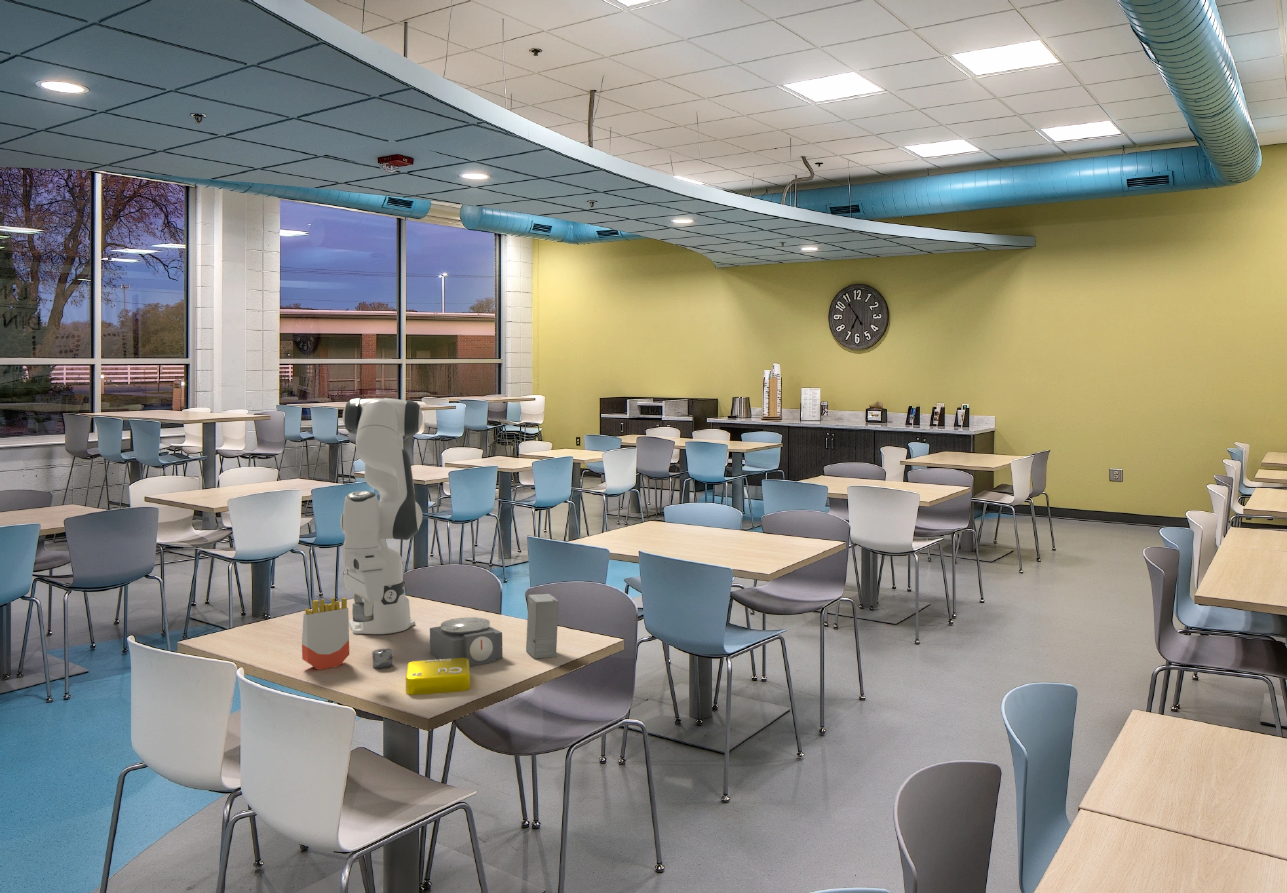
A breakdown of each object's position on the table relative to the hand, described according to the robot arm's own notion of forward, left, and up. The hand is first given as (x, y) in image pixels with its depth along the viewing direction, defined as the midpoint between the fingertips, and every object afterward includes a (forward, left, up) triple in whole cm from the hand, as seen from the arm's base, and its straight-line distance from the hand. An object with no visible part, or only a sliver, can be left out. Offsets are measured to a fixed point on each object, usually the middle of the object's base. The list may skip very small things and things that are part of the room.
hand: (363, 612), depth 221 cm
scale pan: (-4, +29, -9) cm, 30 cm away
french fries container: (-17, -5, -17) cm, 24 cm away
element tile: (+14, +14, -17) cm, 26 cm away
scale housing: (-3, +29, -17) cm, 33 cm away
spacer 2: (-8, +7, -17) cm, 20 cm away
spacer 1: (0, 0, -2) cm, 2 cm away
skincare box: (+7, +46, -17) cm, 50 cm away
